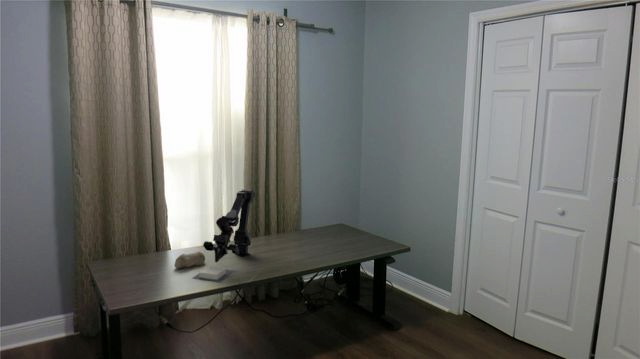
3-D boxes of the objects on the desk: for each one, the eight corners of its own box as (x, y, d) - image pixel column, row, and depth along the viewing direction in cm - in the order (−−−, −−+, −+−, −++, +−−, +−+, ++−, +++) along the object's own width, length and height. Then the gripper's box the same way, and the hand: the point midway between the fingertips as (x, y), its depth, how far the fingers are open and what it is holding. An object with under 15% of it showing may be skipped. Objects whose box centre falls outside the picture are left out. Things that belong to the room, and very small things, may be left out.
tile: (208, 265, 236) (199, 272, 226) (225, 268, 234) (217, 274, 224) (208, 271, 237) (199, 277, 227) (225, 273, 234) (217, 280, 225)
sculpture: (169, 261, 242) (175, 251, 236) (198, 254, 254) (204, 244, 248) (175, 274, 239) (181, 265, 233) (204, 267, 251) (210, 257, 245)
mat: (208, 267, 243) (208, 266, 243) (235, 271, 240) (235, 270, 239) (191, 279, 226) (191, 278, 226) (220, 283, 222) (220, 282, 222)
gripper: (204, 226, 238) (194, 252, 229) (237, 230, 234) (227, 256, 225) (211, 237, 247) (201, 262, 238) (243, 240, 243) (234, 266, 234)
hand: (215, 261), depth 233 cm, fingers closed
